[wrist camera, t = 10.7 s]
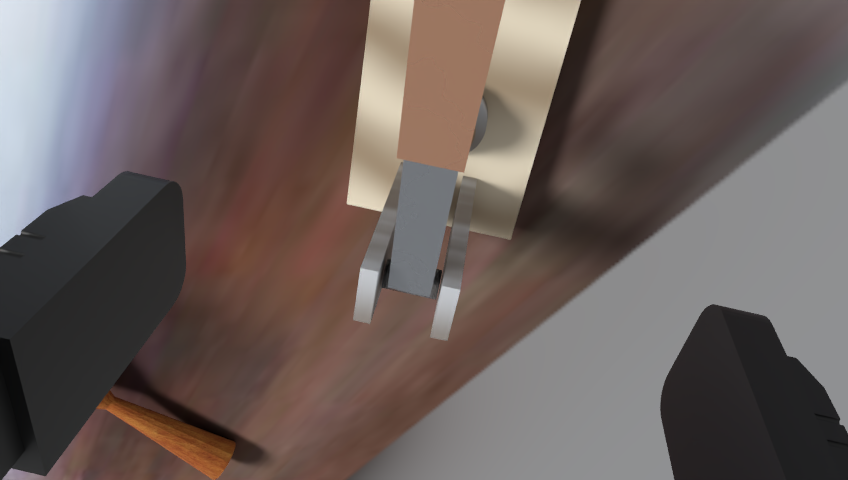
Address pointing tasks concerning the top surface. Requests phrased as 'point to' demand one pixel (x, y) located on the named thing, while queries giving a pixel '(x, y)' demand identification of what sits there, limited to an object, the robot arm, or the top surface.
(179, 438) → the two-tone long tapered part
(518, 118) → the base
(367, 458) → the top surface
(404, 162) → the lever
